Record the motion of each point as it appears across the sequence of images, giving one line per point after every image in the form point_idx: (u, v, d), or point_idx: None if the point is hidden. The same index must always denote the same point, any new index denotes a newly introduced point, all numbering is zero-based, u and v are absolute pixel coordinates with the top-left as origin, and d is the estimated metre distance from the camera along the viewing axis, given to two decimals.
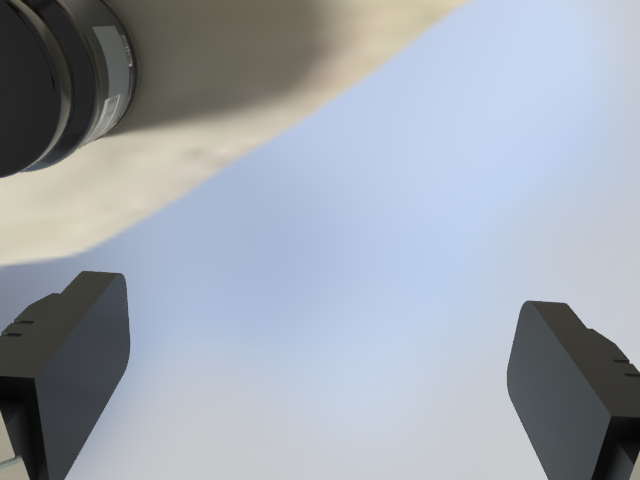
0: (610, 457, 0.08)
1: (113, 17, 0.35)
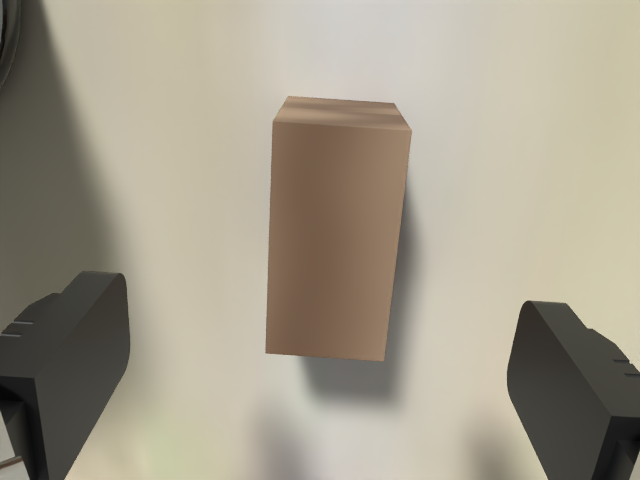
0: (610, 457, 0.08)
1: None
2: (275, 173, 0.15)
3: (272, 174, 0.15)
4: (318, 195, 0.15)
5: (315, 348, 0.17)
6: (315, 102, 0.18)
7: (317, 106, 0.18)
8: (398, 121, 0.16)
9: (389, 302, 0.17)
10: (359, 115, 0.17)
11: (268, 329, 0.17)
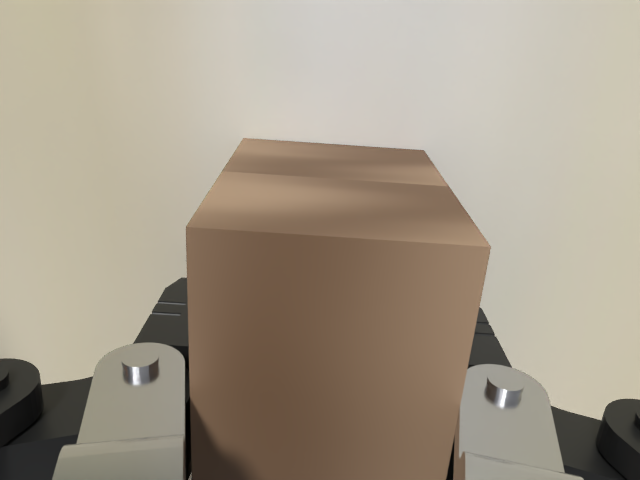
0: None
1: None
2: (197, 330, 0.07)
3: (191, 330, 0.07)
4: (289, 369, 0.07)
5: None
6: (288, 154, 0.10)
7: (291, 166, 0.10)
8: (450, 210, 0.08)
9: None
10: (370, 191, 0.08)
11: None
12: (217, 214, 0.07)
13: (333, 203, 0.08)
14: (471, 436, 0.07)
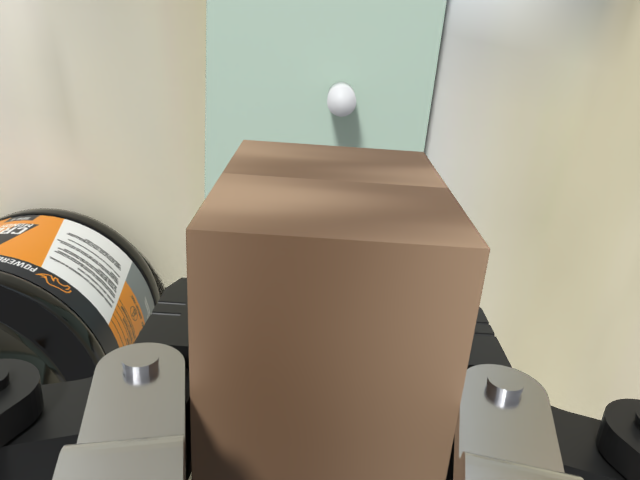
0: None
1: None
2: (197, 331, 0.07)
3: (191, 332, 0.07)
4: (289, 371, 0.07)
5: None
6: (288, 155, 0.10)
7: (290, 167, 0.10)
8: (450, 212, 0.08)
9: None
10: (370, 193, 0.09)
11: None
12: (217, 216, 0.07)
13: (333, 205, 0.08)
14: (470, 436, 0.07)
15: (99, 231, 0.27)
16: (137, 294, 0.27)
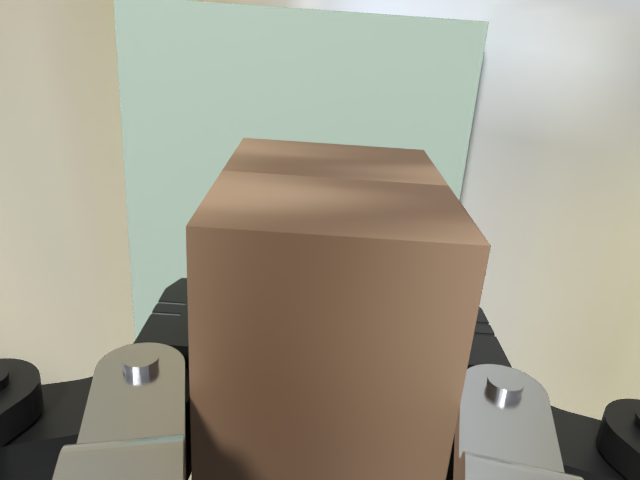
0: None
1: None
2: (197, 329, 0.07)
3: (191, 330, 0.07)
4: (289, 369, 0.07)
5: None
6: (288, 153, 0.10)
7: (290, 165, 0.10)
8: (450, 209, 0.08)
9: None
10: (370, 191, 0.08)
11: None
12: (217, 213, 0.07)
13: (333, 202, 0.08)
14: (471, 436, 0.07)
15: None
16: None
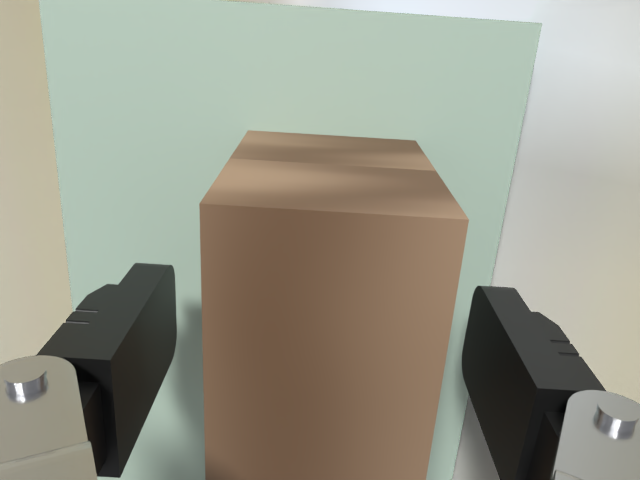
0: (538, 428, 0.08)
1: None
2: (209, 296, 0.08)
3: (204, 297, 0.08)
4: (291, 332, 0.08)
5: None
6: (290, 143, 0.11)
7: (292, 153, 0.10)
8: (436, 190, 0.09)
9: None
10: (364, 175, 0.09)
11: None
12: (226, 193, 0.08)
13: (330, 184, 0.09)
14: (596, 473, 0.07)
15: None
16: None
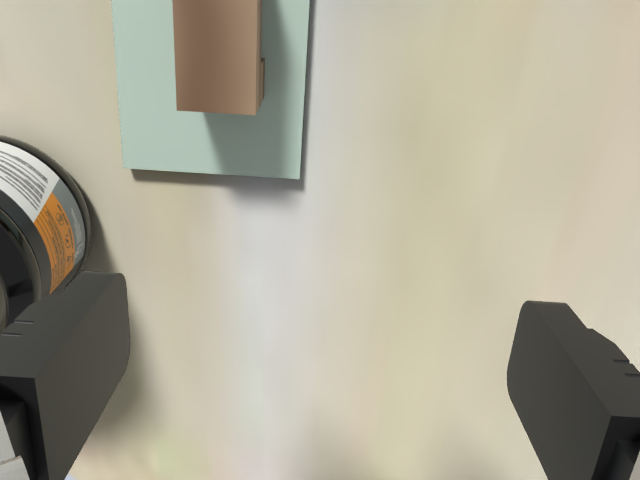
0: (610, 457, 0.08)
1: None
2: None
3: None
4: None
5: (209, 106, 0.26)
6: None
7: None
8: None
9: (255, 69, 0.25)
10: None
11: (177, 92, 0.26)
12: None
13: None
14: None
15: (28, 151, 0.31)
16: (63, 204, 0.31)
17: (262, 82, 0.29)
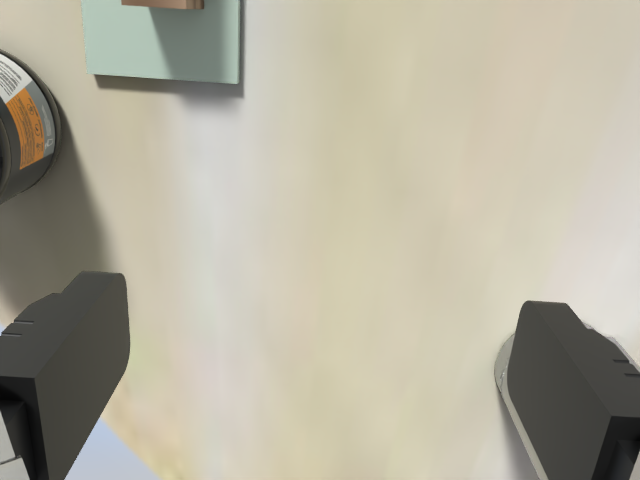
0: (610, 457, 0.08)
1: (29, 186, 0.40)
2: None
3: None
4: None
5: (148, 1, 0.32)
6: None
7: None
8: None
9: None
10: None
11: None
12: None
13: None
14: None
15: (6, 56, 0.37)
16: (34, 99, 0.37)
17: None
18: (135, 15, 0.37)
